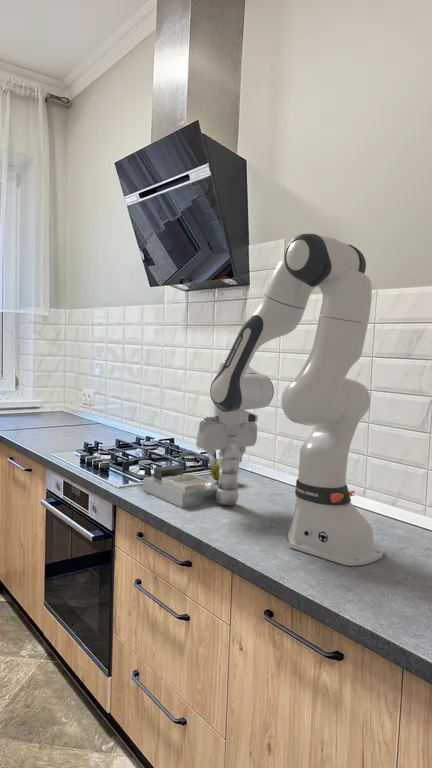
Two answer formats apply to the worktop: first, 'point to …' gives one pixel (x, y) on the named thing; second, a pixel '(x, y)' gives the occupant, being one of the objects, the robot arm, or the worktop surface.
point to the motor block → (180, 487)
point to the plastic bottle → (228, 473)
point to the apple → (215, 471)
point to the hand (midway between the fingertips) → (225, 463)
